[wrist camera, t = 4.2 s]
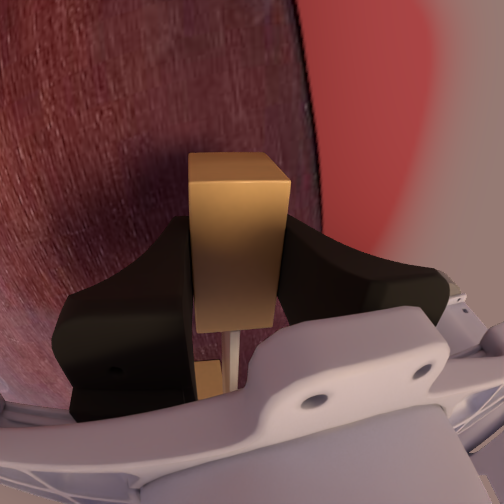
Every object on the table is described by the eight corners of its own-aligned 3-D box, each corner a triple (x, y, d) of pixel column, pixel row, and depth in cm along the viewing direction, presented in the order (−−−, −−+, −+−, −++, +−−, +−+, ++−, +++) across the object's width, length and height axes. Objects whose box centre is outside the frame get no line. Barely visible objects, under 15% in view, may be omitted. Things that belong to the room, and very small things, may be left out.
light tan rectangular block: (219, 359, 26) (226, 402, 22) (221, 403, 30) (227, 439, 26) (174, 362, 25) (175, 406, 21) (183, 406, 29) (187, 443, 26)
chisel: (188, 152, 11) (188, 182, 8) (264, 152, 12) (291, 180, 9) (202, 386, 19) (208, 431, 16) (246, 382, 20) (256, 425, 17)
